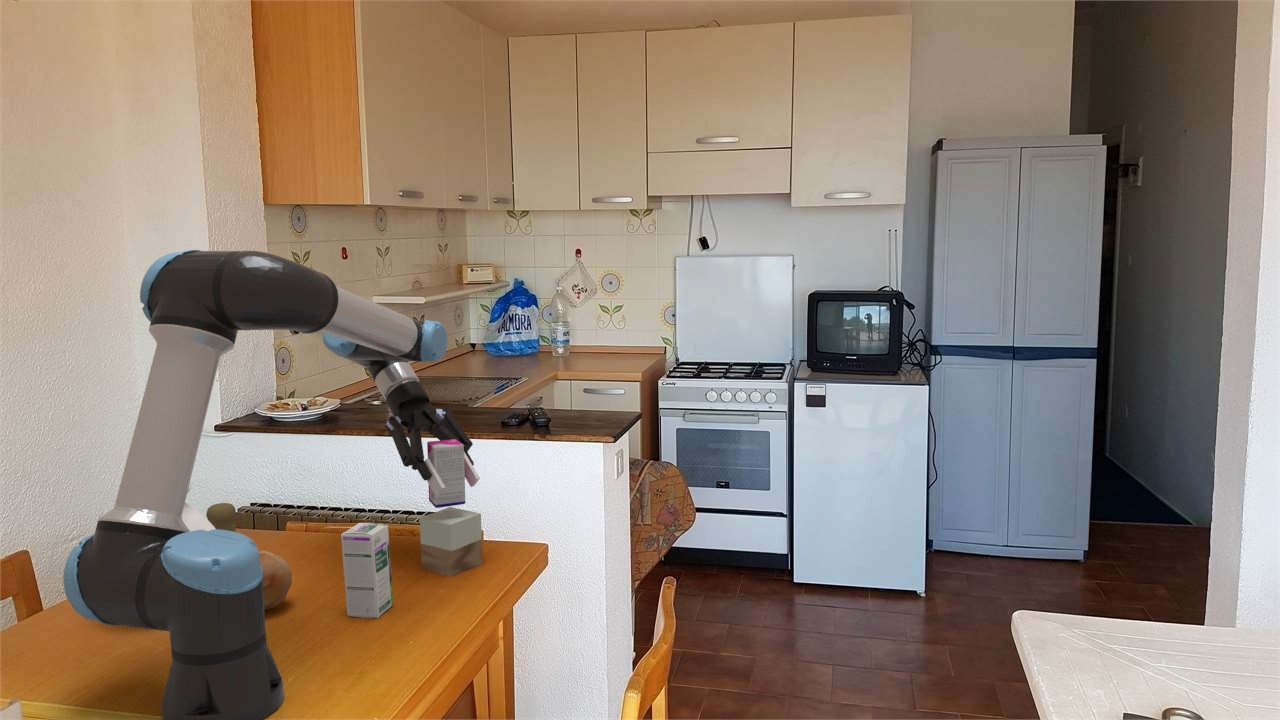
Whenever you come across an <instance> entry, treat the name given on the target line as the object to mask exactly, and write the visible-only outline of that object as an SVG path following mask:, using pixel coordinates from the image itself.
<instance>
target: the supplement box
mask: <svg viewBox="0 0 1280 720" xmlns="http://www.w3.org/2000/svg"><path fill="white" fill-rule="evenodd" d="M426 443H427V448H426V449H427V459H429V460H430V461H431V463H432V465H433V466H434V468H435V470H436V472H437V473H438V475H439V477H440V479H441V480H442V482H443V484H444V486H445V489H444V490H443V491H442V493H441V494H440V496H436V495H435V494H434V492H433V490H432V488H431V487H430V485H429V483H428V482H427V483H428V501H429V502H430V503H431V504H432V506H433V507H434V508H436V509H439V508H446V507H447V508H449V507H455V506H461V505H465V504H466V478H465V469H464V445H463V444H462V443H460V442H459V441H458V440H456V439H451V440H442V441H440V440H433V441H427V442H426Z"/></svg>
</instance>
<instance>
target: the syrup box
mask: <svg viewBox="0 0 1280 720" xmlns="http://www.w3.org/2000/svg"><path fill="white" fill-rule="evenodd" d="M389 535H390V534H389V525H388V524H385V523H379V522H358V523H356V525H354V526H353V527H350V528H349V529H347V530H345V531H344V532H342V533H341V534H340V538H341V551H342V554H341V555H342V565H343V567H342V568H343V580H344V590H345V591H344V592H345V602H346V604H345V605H346V615H347V616H348V617H356V618H367V619H379V618H380V616H382V615H383V614H384V613H385V612H386V611H388V610H389V609H390V608H391V607H392V606H393V605H394V595H393V593H394V591H393V581H392V580H393V579H392V578H393V577H392V565H391V562H392V561H391V552H390V551H391V550H390V538H389V537H390V536H389Z"/></svg>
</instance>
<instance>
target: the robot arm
mask: <svg viewBox="0 0 1280 720" xmlns="http://www.w3.org/2000/svg"><path fill="white" fill-rule="evenodd" d="M139 300H140V303H141V304H143V306H142V308H141V309H142V312H143V314H144V316H145V318H146V319H147V320H148V321H149V322H150V323H149V327H148V331H149V333H150V335H151V336H152V337H153V339H154V341H155V343H156V347H155V350H154V354H153V357H152V360H151V361H152V362H151V366H150V370H149V373H148V376H147V377H148V378H147V382H146V384H145V389H144V392H143V396H142V400H141V405H140V408H139V412H138V416H137V419H136V423H135V427H134V430H133V435H132V437H131V442H130V446H129V450H128V453H127V457H126V462H125V465H124V470H123V473H122V476H121V481H120V485H119V489H118V492H117V495H116V496H117V497H116V498H115V499H116V500H115V504H114V507H113V508H112V509H111V510H110V511H108V512H106V513H105V514H103V515H102V516H100V517H99V518H98V520H97V524H96V526H95V530H94V533H93V534H91V535H88V536H86V537H85V538H83V539H81V540H80V541H79V542H78V545H77V546H74V547H73V548H72V550H71V551H70V553H69V555H68V557H67V559H66V561H65V565H64V568H63V569H64V570H63V576H62V578H63V579H62V580H63V581H62V583H63V590H64V594H65V598H66V599H67V601H68V603H70V605H71V607H72V609H73V610H74V612H76V613H77V615H78V614H79V616H81V617H83V618H85V619H87V620H90V621H95V622H99V623H102V624H103V625H106V626H107V625H108V626H126V627H131V628H139V629H148V630H154V631H155V630H157V631H165V632H168V633H169V640H170V650H171V651H170V652H171V664H170V668H169V671H168V675H167V679H166V682H165V687H164V691H163V693H162V697H161V698H162V699H161V702H160V703H161V704H160V707H161V708H160V710H161V719H162V720H263V719H265V718H266V717H268V716H269V715H271V714H272V713H274V712H275V711H276V710H277V709H278V708H279V707H280V706H281V704H282V703H283V701H284V699H285V690H284V680H283V676H282V674H281V672H280V670H279V667H278V666H277V663H276V661H275V659H274V656H273V655H272V652H271V650H270V648H269V646H268V642H267V634H266V616H265V610H264V596H263V580H262V578H263V570H262V565H261V563H260V556H259V551H260V550H259V548H258V546H257V544H256V542H255V541H254V540H253V539H252V538H250V537H249V536H247V535H245V534H243V533H240V532H237V531H236V532H233V531H228V530H218V529H212V530H210V531H205V530H196V531H190V530H189V529H188V528H187V526H186V525H185V523H184V522H183V520H182V512H183V508H184V504H185V503H186V499H187V495H188V493H189V492H188V488H189V483H190V481H191V478H192V475H193V470H194V466H195V462H196V458H197V454H198V450H199V445H200V442H201V441H200V440H201V437H202V434H203V433H202V432H203V429H204V426H205V421H206V418H207V413H208V408H209V403H210V400H211V396H212V391H213V387H214V383H215V379H216V376H217V371H218V367H219V362H220V358H221V357H222V356H223V355H225V354H227V353H228V352H230V351H232V350H233V349H234V347H235V344H236V339H237V336H238V331H265V330H266V331H267V330H268V331H273V330H276V331H277V330H279V331H280V330H281V331H282V330H284V331H295V332H299V333H302V334H307V335H308V334H316V333H318V332H320V333H322V343H323V344H324V346H325V347H326V348H327V349H328V350H329V351H331V352H333V353H334V354H335V355H336V356H338V357H342V358H344V359H347V360H349V361H350V362H352V363H353V362H354V363H356V364H358V365H360V366H362V367H364V368H366V370H367V371H368V373H369V375H370V377H371V379H372V380H373V381H374V384H375V385H376V387H377V389H378V390H379V392H380V394H381V396H382V398H383V399H384V400H385V403H386V404H387V406H388V407H387V408H389V410H390V412H391V414H392V415H393V416H391V415H390V417H389V418H388V419H387V421H386V423H385V425H384V427H385V429H386V430H387V431H388V432H389V433H390V435H391V438H392V441H393V442H394V446H395V447H396V450H397V453H398V454H399V457H400V460H401V462H402V464H403V467H405V468H409V467H411V469H412V470H414V471H418V473H419V475H420V476H421V478H422V480H423V481H427V483H429V484H428V486H429V485H430V487H431V488H432V490H433V492H434V494H435V495H436V496H440V494H441V493H442V491H443V490H444V489H445V486H444V484H443V482H442V480H441V479H440V477H439V475H438V473H437V472H436V470H435V468H434V466H433V465H432V463H431V461H430V460H429V459H428V458H426V459H425V455H424V448H423V441H422V435H421V432H427V433H428V434H429V435H431V436H434V437H436V439H438V441H442V440H451V439H456V440H458V441H459V442H460V443H462V444H463V445H464V469H465V481H467V483H468V484H469V486H470V488H473V487H475V485H476V484H477V483H478V481H479V480H480V479H481V478H480V475H479V474H478V472H477V471H476V469H475V467H474V466H475V464H474V460H473V459H472V457H471V455H470V454H469V451H470V449H471V448H472V446H473V441H472V440H471V439H470V438H469V436H468V435H467V434H466V432H465V431H464V430H463V428H462V427H461V425H460V424H459V423H458V421H456V419H455V417H453V415H452V412H451V409H450V406H448V405H447V406H446V405H445V406H443V408H436V407H435V406H434V405H432V403H431V402H430V398H429V395H428V393H427V391H426V389H425V387H424V386H423V384H422V383H421V382H420V379H419V377H418V375H417V374H416V372H415V370H414V369H413V367H412V365H411V364H410V363H409V362H418V363H419V362H421V363H427V362H428V363H430V362H431V363H432V362H434V363H435V362H439V361H441V360H442V359H443V358H444V356H445V355H446V351H447V348H448V333H447V330H446V328H445V326H444V325H443V324H442V322H439V321H436V320H429V319H425V320H419V319H415V318H412V317H410V316H407V315H405V314H402V313H400V312H397V311H395V310H393V309H391V308H388V307H386V306H383V305H381V304H379V303H376V302H374V301H371V300H369V299H367V298H365V297H363V296H360V295H358V294H355V293H353V292H350V291H348V290H345V289H343V288H341V287H338V286H337V284H336V282H335V281H334V280H333V279H332V278H331V277H330V276H328V275H326V274H325V273H322V272H320V271H318V270H315V269H314V268H311V267H308V266H306V265H304V264H301V263H299V262H296V261H294V260H291V259H288V258H285V257H282V256H280V255H276V254H273V253H268V252H265V251H259V250H258V251H257V250H200V249H188V250H184V251H176V252H169V253H166V254H165V255H162V256H161V257H159V258H158V259H156V260H155V261H154V262H153V263H152V264H151V265H150V267H148V269H147V270H146V272H145V274H144V276H143V277H142V281H141V285H140V290H139ZM404 428H405V429H406V433H407V435H406V433H405V431H404ZM187 492H188V493H187Z"/></svg>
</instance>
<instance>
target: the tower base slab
mask: <svg viewBox="0 0 1280 720" xmlns="http://www.w3.org/2000/svg"><path fill="white" fill-rule="evenodd" d="M482 546H483V545H482V539H480V540H478V541H475V542H473V543H471V544H468V545H466V546H463V547H461V548H458V549H456V550H453V551H449V550H445V549H441V548H437V547H433V546H428V545H424V544H421V543H420V556H421V557H420V558H421V559H420V560H421V568H423V569H425V570H429V571H432V572H434V573H437V574H440V575H443V576H446V577H449V578H450V577H452V576H455V575H458V574H461V573H463V572H465V571H468V570H471V569H474V568H477V567H480V566H482V565H483V550H482V549H483V547H482Z"/></svg>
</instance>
